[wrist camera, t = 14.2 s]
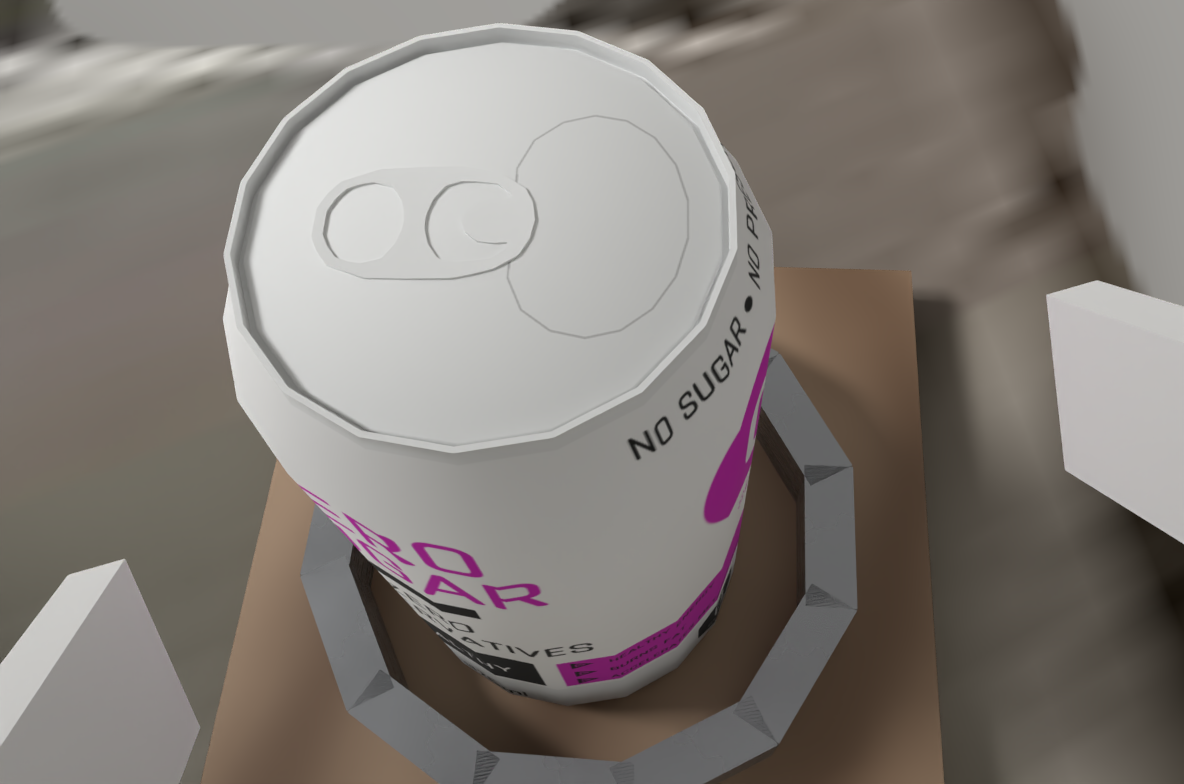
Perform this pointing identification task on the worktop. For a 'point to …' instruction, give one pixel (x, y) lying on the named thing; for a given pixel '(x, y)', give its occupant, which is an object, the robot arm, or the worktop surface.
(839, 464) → the steel collar
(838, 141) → the worktop surface
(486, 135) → the supplement can
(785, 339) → the seat plate
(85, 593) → the robot arm
